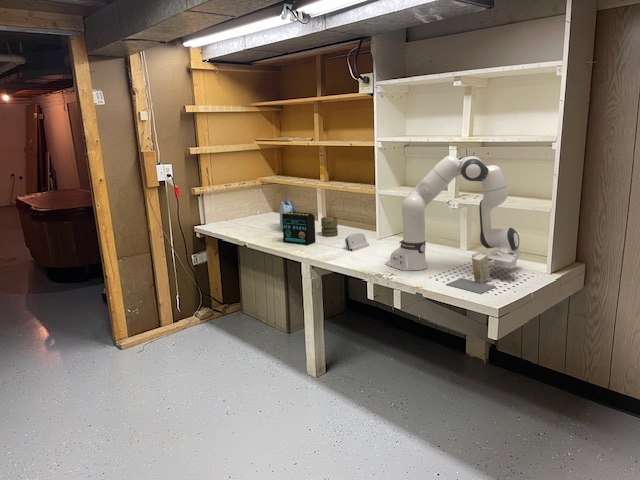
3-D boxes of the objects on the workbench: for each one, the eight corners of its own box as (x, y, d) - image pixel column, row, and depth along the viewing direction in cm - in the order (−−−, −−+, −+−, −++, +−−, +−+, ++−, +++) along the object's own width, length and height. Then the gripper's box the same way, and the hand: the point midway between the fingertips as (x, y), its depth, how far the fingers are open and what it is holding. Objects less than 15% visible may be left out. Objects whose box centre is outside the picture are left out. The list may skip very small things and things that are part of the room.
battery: (315, 242, 313) (314, 212, 308) (307, 245, 305) (306, 214, 300) (291, 239, 323) (290, 210, 318) (283, 242, 315) (281, 212, 310)
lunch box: (297, 232, 344) (296, 203, 339) (282, 233, 342) (281, 204, 338) (293, 225, 369) (292, 198, 364) (279, 226, 367) (277, 199, 363)
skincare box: (482, 276, 229) (480, 253, 225) (490, 278, 225) (488, 254, 221) (473, 281, 226) (471, 258, 222) (481, 283, 222) (479, 259, 218)
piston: (336, 219, 324) (320, 219, 325) (337, 236, 326) (320, 237, 328) (337, 216, 335) (321, 216, 336) (338, 233, 337) (322, 233, 339)
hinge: (352, 251, 287) (348, 235, 287) (347, 252, 290) (342, 237, 291) (370, 246, 299) (365, 230, 299) (364, 247, 302) (360, 232, 302)
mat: (445, 285, 222) (445, 284, 222) (461, 278, 230) (461, 277, 230) (481, 294, 209) (481, 293, 209) (496, 287, 217) (496, 286, 217)
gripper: (480, 248, 241) (465, 253, 232) (519, 255, 226) (505, 260, 217) (479, 260, 242) (464, 265, 234) (518, 268, 228) (504, 274, 219)
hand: (484, 263), depth 225 cm, fingers closed
